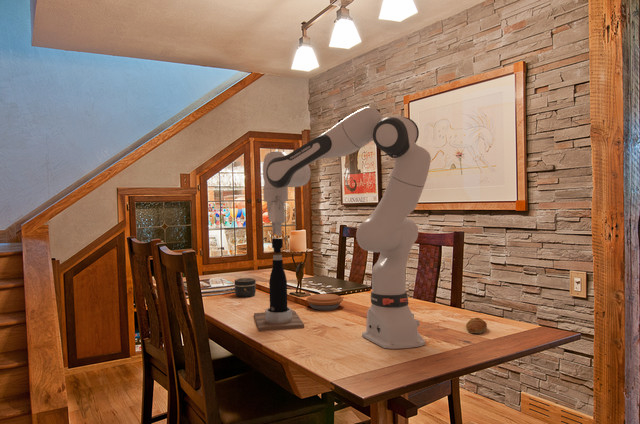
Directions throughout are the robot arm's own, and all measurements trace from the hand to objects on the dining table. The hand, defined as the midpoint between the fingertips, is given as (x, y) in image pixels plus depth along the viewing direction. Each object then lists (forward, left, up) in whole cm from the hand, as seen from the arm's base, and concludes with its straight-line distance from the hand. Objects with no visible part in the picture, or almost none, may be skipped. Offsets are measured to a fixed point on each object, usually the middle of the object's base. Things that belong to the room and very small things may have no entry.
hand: (276, 234), depth 176 cm
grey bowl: (0, 0, -31) cm, 31 cm away
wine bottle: (0, 0, -32) cm, 32 cm away
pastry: (-27, -64, -33) cm, 77 cm away
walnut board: (+3, 0, -33) cm, 33 cm away
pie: (+21, -22, -33) cm, 45 cm away
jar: (+55, +9, -33) cm, 65 cm away
